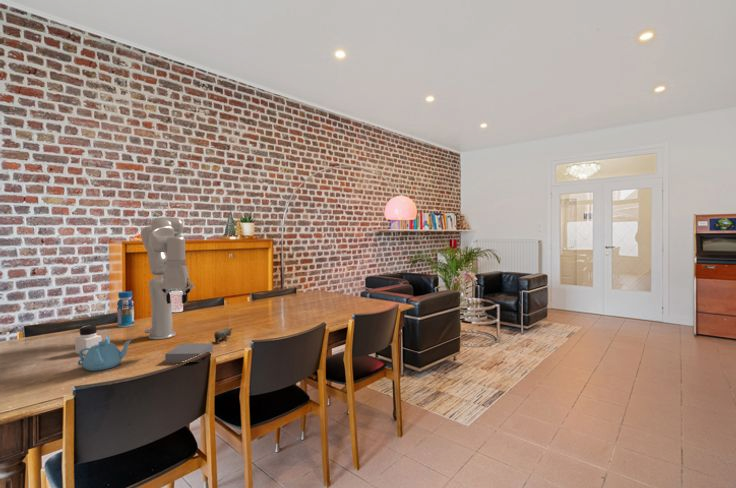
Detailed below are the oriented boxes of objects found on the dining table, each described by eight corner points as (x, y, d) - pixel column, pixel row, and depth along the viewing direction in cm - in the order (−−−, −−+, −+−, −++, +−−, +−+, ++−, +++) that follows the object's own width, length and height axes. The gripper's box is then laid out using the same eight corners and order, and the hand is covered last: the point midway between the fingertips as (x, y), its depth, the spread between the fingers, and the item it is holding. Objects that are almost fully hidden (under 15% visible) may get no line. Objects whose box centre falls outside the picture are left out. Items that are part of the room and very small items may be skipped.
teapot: (72, 370, 145) (71, 344, 145) (110, 357, 159) (110, 334, 159) (95, 375, 140) (94, 349, 139) (133, 362, 154) (132, 338, 153)
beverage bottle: (113, 327, 212) (112, 293, 211) (125, 323, 220) (124, 290, 220) (126, 327, 211) (125, 293, 210) (137, 324, 219) (137, 291, 218)
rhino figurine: (235, 336, 191) (235, 325, 191) (219, 344, 178) (219, 332, 178) (228, 336, 192) (228, 324, 192) (211, 344, 179) (211, 331, 179)
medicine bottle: (102, 350, 169) (101, 325, 169) (86, 355, 162) (85, 328, 162) (91, 349, 171) (90, 323, 171) (75, 353, 165) (74, 327, 164)
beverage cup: (166, 312, 165) (165, 281, 165) (178, 309, 171) (177, 279, 170) (176, 313, 163) (175, 281, 162) (187, 310, 169) (187, 280, 168)
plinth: (165, 363, 152) (165, 353, 152) (181, 352, 166) (181, 343, 166) (199, 362, 152) (199, 353, 152) (212, 352, 166) (212, 343, 166)
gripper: (152, 264, 162) (153, 304, 163) (191, 264, 163) (192, 304, 163) (161, 263, 170) (162, 301, 170) (199, 263, 170) (199, 301, 171)
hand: (177, 302), depth 167 cm, fingers closed on beverage cup, 6 cm apart
